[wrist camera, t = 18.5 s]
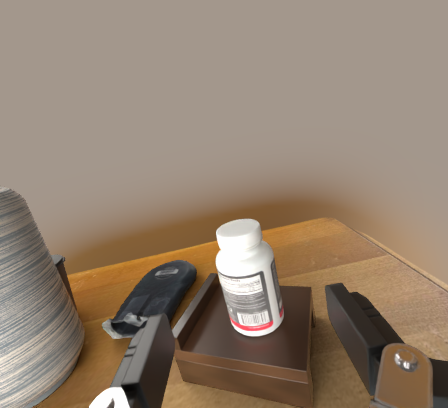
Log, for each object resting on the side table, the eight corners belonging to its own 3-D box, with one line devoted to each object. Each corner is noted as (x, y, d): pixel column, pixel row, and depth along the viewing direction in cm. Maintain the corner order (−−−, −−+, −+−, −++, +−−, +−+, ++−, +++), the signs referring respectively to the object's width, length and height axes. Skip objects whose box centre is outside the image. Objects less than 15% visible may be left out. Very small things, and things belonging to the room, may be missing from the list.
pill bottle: (252, 292, 28) (235, 213, 26) (295, 309, 24) (280, 218, 22) (219, 324, 25) (196, 235, 22) (263, 349, 21) (241, 246, 18)
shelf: (315, 316, 28) (309, 274, 27) (312, 409, 19) (304, 356, 18) (219, 308, 33) (210, 273, 31) (183, 381, 24) (167, 336, 23)
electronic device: (180, 344, 30) (204, 264, 44) (160, 313, 28) (191, 239, 42) (119, 353, 33) (159, 275, 46) (95, 325, 31) (144, 252, 44)
